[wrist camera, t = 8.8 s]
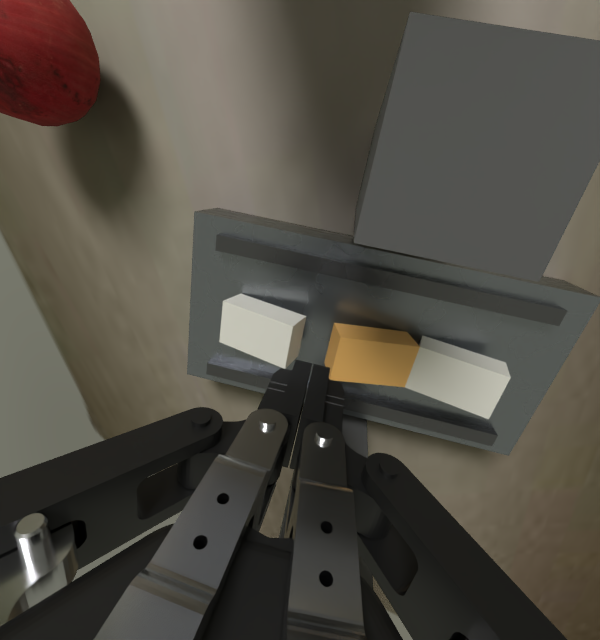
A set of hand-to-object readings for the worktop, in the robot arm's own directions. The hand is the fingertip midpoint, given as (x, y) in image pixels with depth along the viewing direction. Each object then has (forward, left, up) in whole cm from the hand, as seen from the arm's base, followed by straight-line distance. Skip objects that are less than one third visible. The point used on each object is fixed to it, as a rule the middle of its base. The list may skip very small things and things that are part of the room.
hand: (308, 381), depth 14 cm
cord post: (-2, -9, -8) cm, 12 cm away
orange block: (-2, 0, -5) cm, 5 cm away
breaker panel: (-2, 0, -8) cm, 8 cm away
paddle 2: (-7, 0, -5) cm, 9 cm away
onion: (+16, -11, -8) cm, 21 cm away
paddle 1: (+3, 0, -5) cm, 5 cm away
